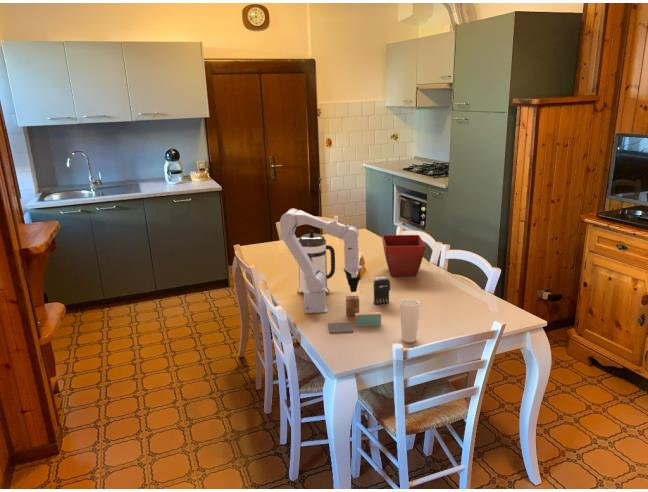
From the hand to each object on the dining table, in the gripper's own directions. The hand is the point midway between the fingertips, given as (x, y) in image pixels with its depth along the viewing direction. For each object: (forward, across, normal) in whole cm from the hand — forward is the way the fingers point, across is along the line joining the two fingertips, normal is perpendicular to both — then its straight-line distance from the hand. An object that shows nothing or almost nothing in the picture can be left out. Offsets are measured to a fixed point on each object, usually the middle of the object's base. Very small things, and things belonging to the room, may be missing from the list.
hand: (352, 288), depth 204 cm
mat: (+10, -15, +7) cm, 19 cm away
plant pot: (+11, +44, -31) cm, 55 cm away
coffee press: (+10, +23, +14) cm, 29 cm away
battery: (+11, +7, -14) cm, 19 cm away
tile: (+11, -13, -4) cm, 17 cm away
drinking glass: (+11, -27, -17) cm, 34 cm away
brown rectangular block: (+10, -4, +1) cm, 11 cm away
